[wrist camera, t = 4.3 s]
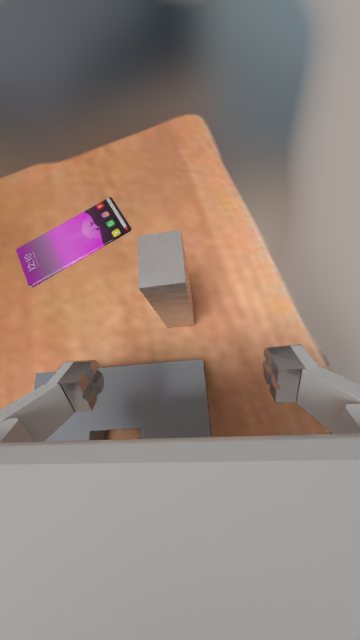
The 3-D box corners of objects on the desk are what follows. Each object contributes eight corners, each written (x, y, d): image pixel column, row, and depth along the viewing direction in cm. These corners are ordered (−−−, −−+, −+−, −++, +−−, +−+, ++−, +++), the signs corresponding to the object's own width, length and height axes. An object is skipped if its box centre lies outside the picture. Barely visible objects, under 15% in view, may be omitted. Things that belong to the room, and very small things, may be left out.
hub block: (224, 567, 16) (228, 606, 14) (38, 565, 18) (6, 598, 15) (203, 362, 21) (202, 358, 18) (57, 374, 23) (36, 373, 20)
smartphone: (133, 234, 28) (131, 229, 27) (32, 289, 27) (27, 286, 26) (112, 201, 30) (110, 195, 30) (19, 250, 30) (13, 246, 29)
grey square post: (195, 325, 23) (185, 282, 13) (167, 328, 23) (138, 288, 13) (191, 290, 24) (180, 228, 14) (165, 293, 24) (138, 234, 15)
